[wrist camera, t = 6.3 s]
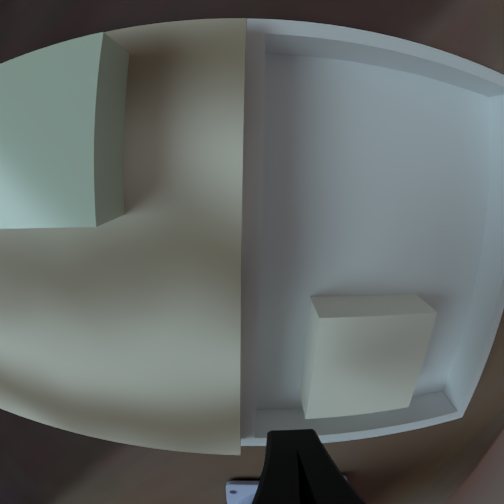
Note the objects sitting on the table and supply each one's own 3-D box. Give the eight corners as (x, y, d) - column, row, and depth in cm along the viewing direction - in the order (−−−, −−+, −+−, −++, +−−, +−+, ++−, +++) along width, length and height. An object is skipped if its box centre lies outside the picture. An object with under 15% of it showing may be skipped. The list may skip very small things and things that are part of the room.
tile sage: (124, 214, 9) (96, 227, 7) (7, 218, 9) (-29, 229, 7) (129, 54, 8) (103, 31, 6) (9, 83, 8) (-26, 75, 6)
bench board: (241, 404, 15) (240, 455, 12) (28, 375, 15) (0, 408, 12) (247, 54, 11) (246, 18, 8) (-6, 96, 11) (-51, 89, 7)
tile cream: (305, 419, 12) (299, 391, 14) (408, 406, 12) (393, 383, 14) (319, 317, 11) (309, 296, 13) (437, 312, 11) (415, 293, 13)
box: (443, 392, 15) (462, 417, 13) (241, 411, 15) (240, 445, 13) (489, 90, 11) (521, 83, 9) (247, 44, 11) (247, 18, 8)
